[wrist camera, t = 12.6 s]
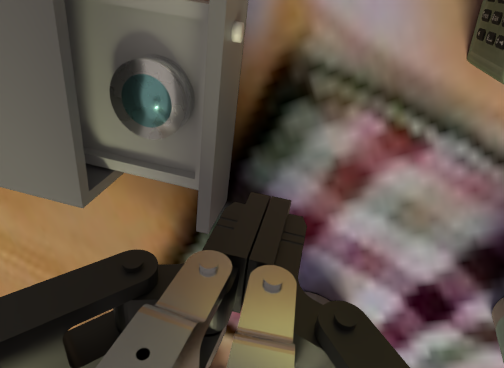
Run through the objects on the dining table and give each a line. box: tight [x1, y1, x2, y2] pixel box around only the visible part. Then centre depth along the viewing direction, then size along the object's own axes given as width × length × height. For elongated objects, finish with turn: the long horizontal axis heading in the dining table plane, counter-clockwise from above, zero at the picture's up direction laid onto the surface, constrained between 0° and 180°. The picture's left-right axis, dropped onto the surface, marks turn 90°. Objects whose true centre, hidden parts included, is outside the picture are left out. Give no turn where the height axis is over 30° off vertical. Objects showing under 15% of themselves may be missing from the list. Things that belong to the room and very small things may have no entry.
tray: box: [64, 0, 248, 234], centre depth 27 cm, size 18×18×5 cm
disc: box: [109, 55, 195, 140], centre depth 28 cm, size 6×6×2 cm
